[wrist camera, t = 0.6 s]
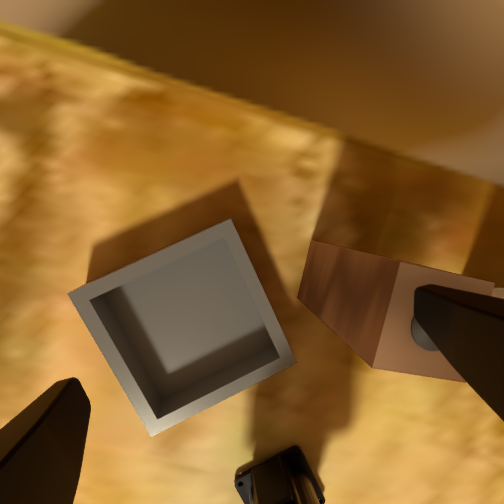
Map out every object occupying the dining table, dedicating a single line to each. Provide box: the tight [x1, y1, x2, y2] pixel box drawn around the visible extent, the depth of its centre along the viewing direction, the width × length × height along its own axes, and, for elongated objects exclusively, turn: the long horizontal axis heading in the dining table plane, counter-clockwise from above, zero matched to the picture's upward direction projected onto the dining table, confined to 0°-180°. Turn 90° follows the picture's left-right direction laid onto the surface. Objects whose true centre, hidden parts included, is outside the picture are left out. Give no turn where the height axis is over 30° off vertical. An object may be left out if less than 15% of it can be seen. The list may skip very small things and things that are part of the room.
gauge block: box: [297, 240, 495, 383], centre depth 20 cm, size 5×5×12 cm
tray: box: [68, 218, 297, 437], centre depth 23 cm, size 12×12×3 cm
